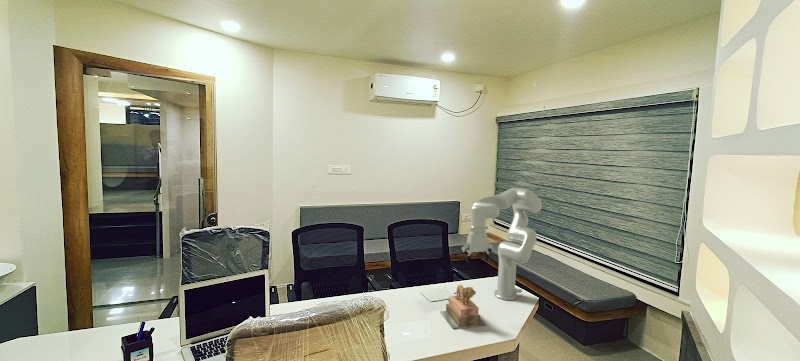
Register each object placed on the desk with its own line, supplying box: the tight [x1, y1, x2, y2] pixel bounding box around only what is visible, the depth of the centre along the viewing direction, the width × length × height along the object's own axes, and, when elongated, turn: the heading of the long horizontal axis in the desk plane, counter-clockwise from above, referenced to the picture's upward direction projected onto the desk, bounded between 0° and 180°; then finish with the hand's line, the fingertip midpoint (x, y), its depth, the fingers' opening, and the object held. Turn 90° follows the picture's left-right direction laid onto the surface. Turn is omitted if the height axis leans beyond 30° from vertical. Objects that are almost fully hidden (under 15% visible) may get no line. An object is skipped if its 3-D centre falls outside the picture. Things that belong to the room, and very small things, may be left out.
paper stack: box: [419, 287, 455, 302], centre depth 180 cm, size 23×25×1 cm
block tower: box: [439, 295, 487, 330], centre depth 159 cm, size 17×16×9 cm
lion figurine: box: [453, 284, 477, 305], centre depth 159 cm, size 15×5×9 cm, turn 27°
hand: (477, 261), depth 166 cm, fingers open, 9 cm apart
